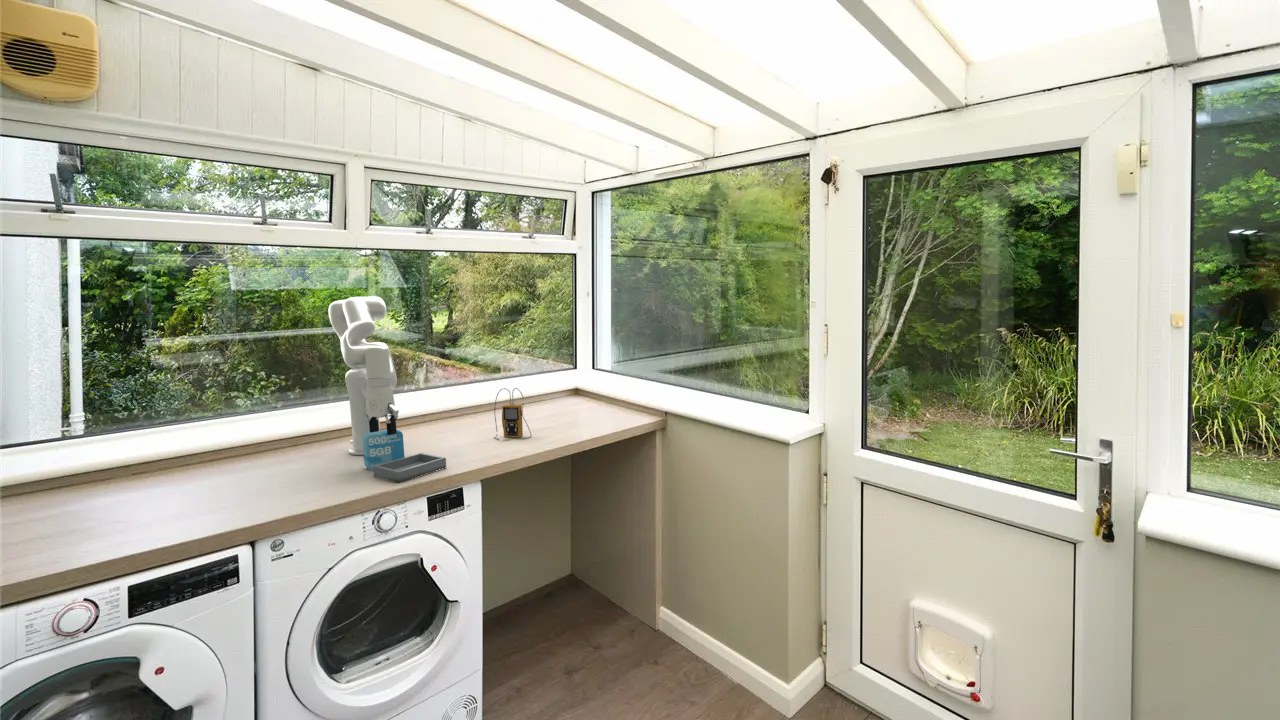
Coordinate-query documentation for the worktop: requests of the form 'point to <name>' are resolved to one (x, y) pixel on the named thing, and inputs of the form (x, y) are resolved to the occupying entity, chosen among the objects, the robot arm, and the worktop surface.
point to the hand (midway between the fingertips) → (383, 433)
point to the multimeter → (512, 419)
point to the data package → (382, 448)
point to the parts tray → (409, 467)
